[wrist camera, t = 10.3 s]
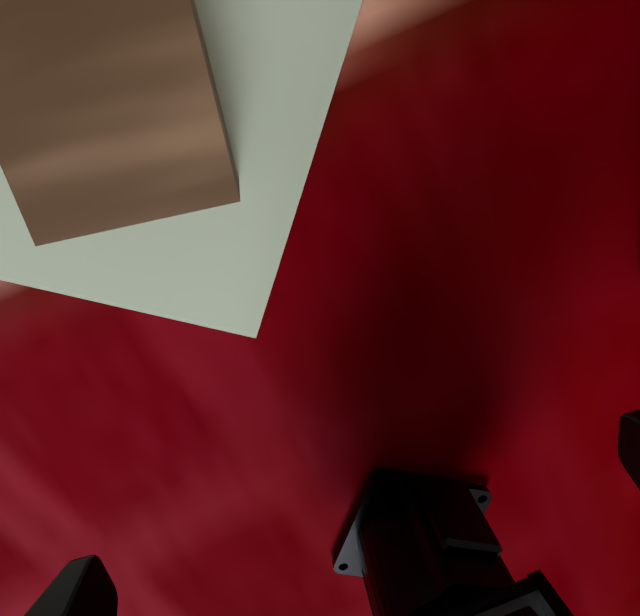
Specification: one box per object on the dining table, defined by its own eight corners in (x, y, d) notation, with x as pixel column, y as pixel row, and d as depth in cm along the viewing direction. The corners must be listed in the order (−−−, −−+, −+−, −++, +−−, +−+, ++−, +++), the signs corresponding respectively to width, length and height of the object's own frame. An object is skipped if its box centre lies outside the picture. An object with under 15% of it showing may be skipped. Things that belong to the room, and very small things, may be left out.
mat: (255, 333, 22) (255, 338, 21) (-177, 234, 18) (-185, 237, 18) (410, -160, 16) (414, -165, 16) (-177, -461, 12) (-190, -478, 12)
